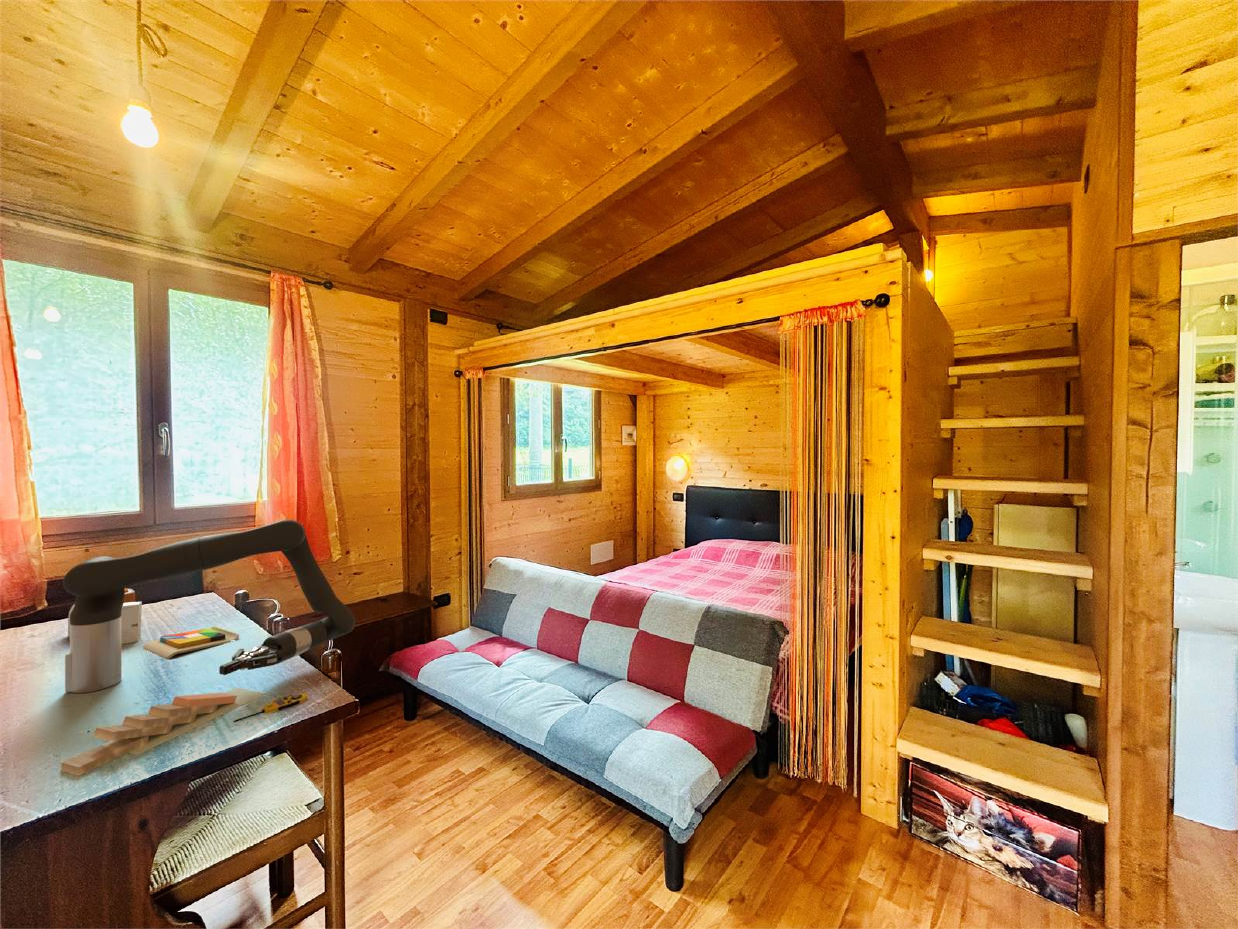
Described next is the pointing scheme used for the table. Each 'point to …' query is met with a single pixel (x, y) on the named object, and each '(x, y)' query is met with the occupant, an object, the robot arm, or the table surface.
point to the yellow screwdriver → (280, 704)
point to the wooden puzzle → (189, 641)
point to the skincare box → (131, 622)
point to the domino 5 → (204, 699)
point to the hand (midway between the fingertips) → (221, 670)
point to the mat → (200, 719)
